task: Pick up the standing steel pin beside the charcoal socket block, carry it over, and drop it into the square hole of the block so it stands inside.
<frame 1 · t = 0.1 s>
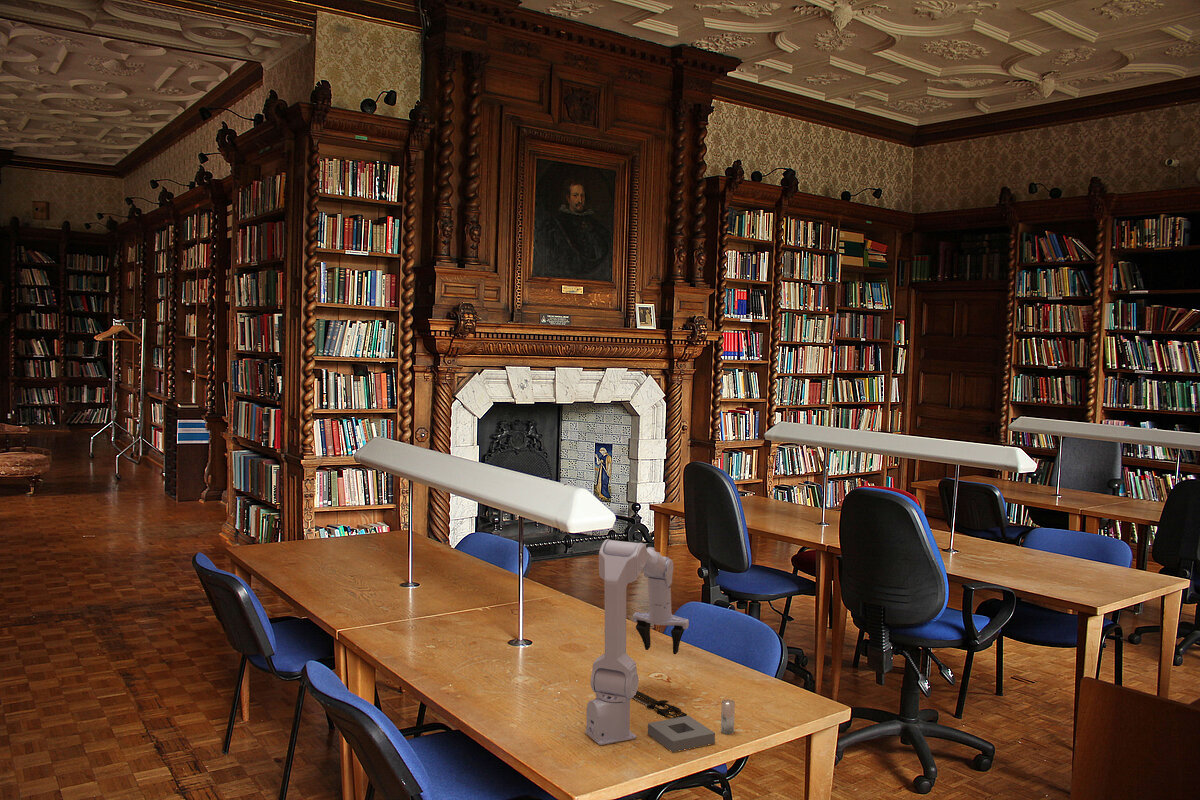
hand: (661, 650, 239), 11 cm above the table, tool pointing down, fingers open, 7 cm apart
knife: (647, 705, 230), on the table
socket block: (680, 738, 209), on the table
steel pin: (727, 731, 213), on the table
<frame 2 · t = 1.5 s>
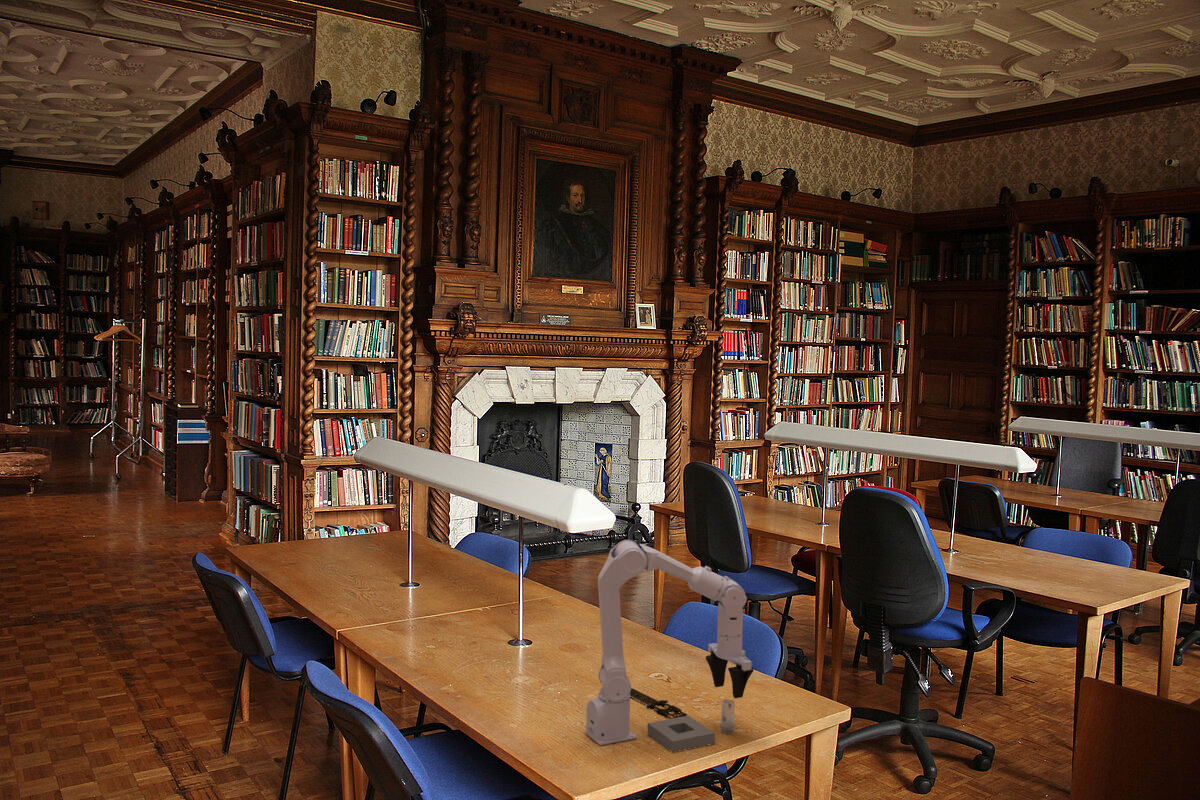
hand: (728, 691, 213), 9 cm above the table, tool pointing down, fingers open, 7 cm apart
nothing on the table moved.
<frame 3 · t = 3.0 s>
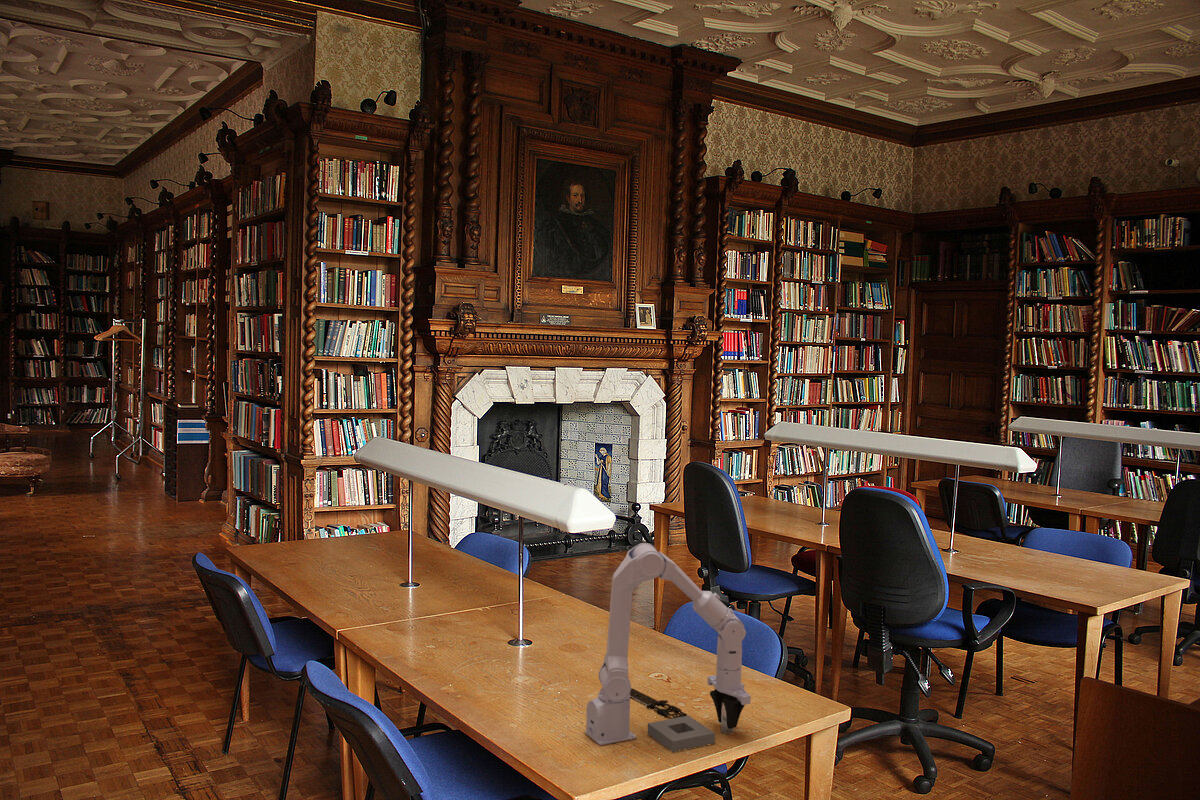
hand: (727, 724, 213), 2 cm above the table, tool pointing down, fingers closed on steel pin, 3 cm apart
steel pin: (727, 731, 213), on the table, touching gripper
everything else where it was.
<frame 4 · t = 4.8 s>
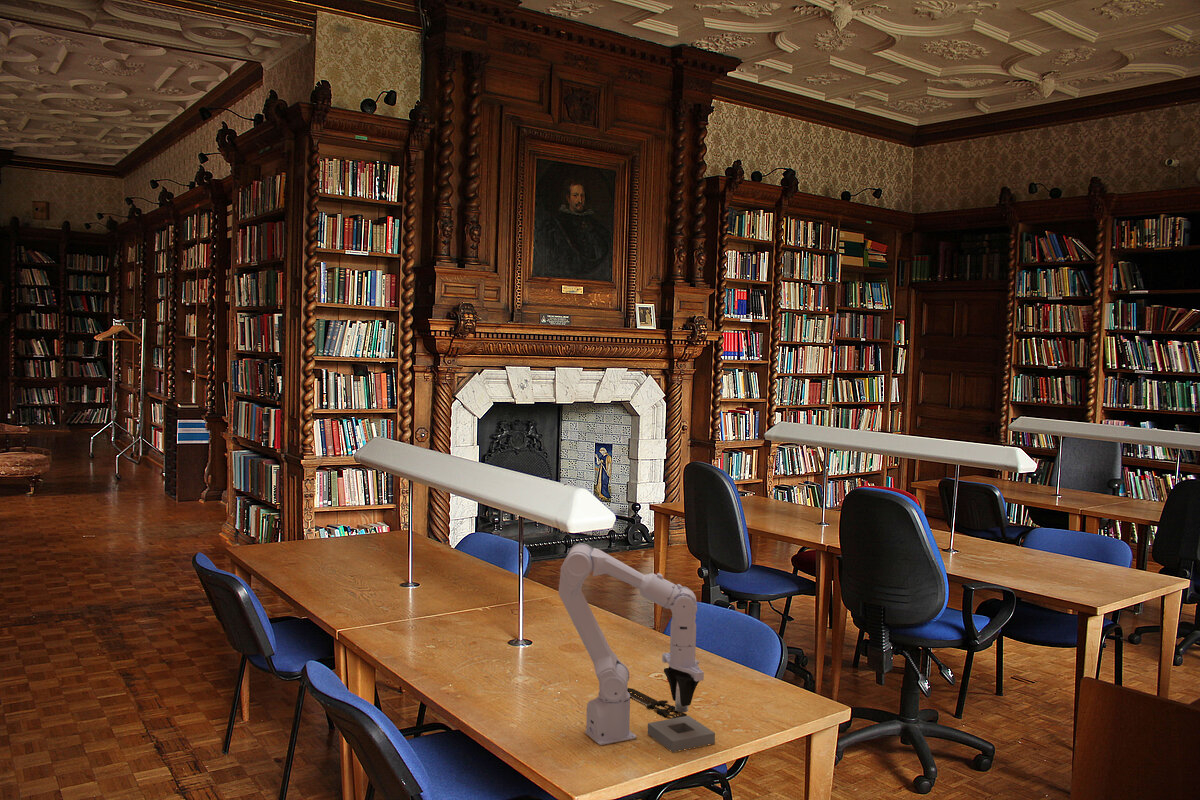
hand: (681, 702, 209), 8 cm above the table, tool pointing down, fingers closed on steel pin, 3 cm apart
steel pin: (681, 709, 209), point 7 cm above the table, touching gripper
everything else where it was.
when the fingers open (4 cm above the table, at t = 6.6 s): steel pin drops 2 cm, resting in socket block.
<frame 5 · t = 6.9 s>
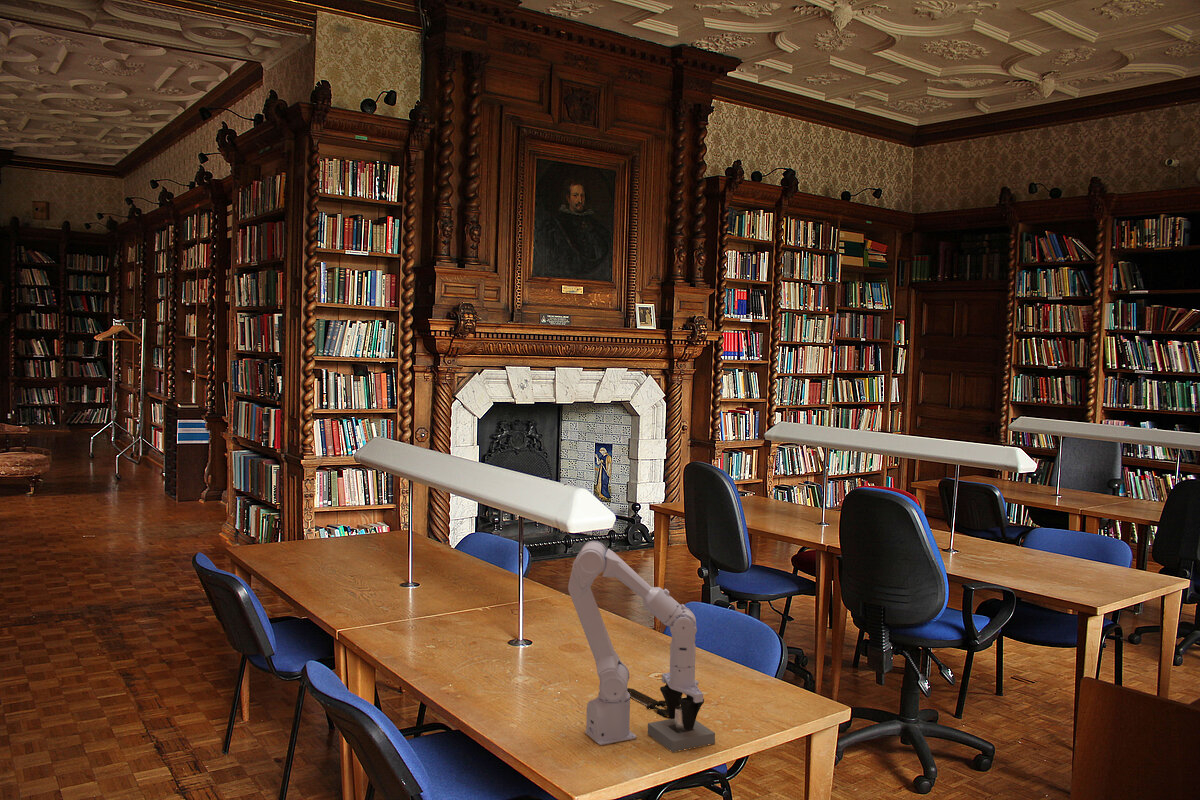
hand: (681, 723, 209), 4 cm above the table, tool pointing down, fingers open, 6 cm apart
steel pin: (681, 738, 209), resting in socket block
everything else where it was.
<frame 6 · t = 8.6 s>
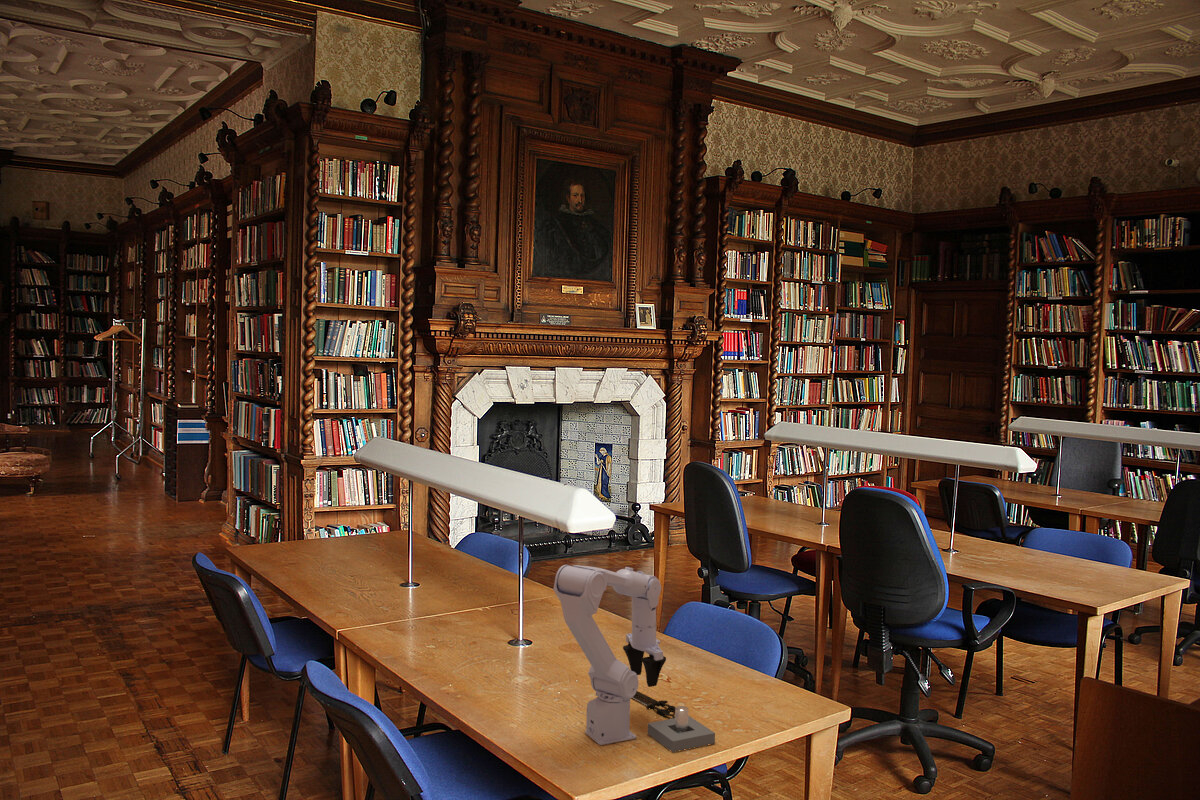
hand: (644, 680, 219), 9 cm above the table, tool pointing down, fingers open, 7 cm apart
nothing on the table moved.
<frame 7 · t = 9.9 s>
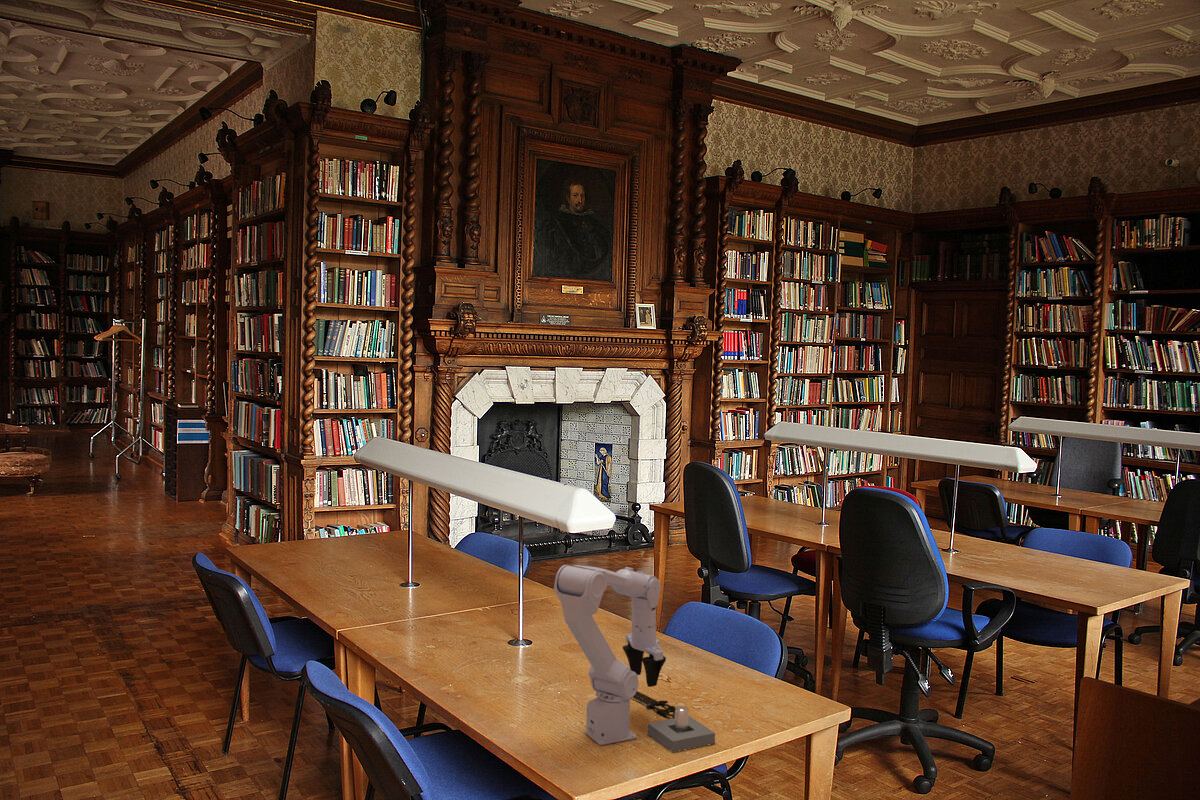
hand: (644, 680, 219), 9 cm above the table, tool pointing down, fingers open, 7 cm apart
nothing on the table moved.
at the end: steel pin 0.1 cm off-centre on the socket block, point 0.0 cm above the socket block's base; steel pin tilted 0°; the gripper is holding nothing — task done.
